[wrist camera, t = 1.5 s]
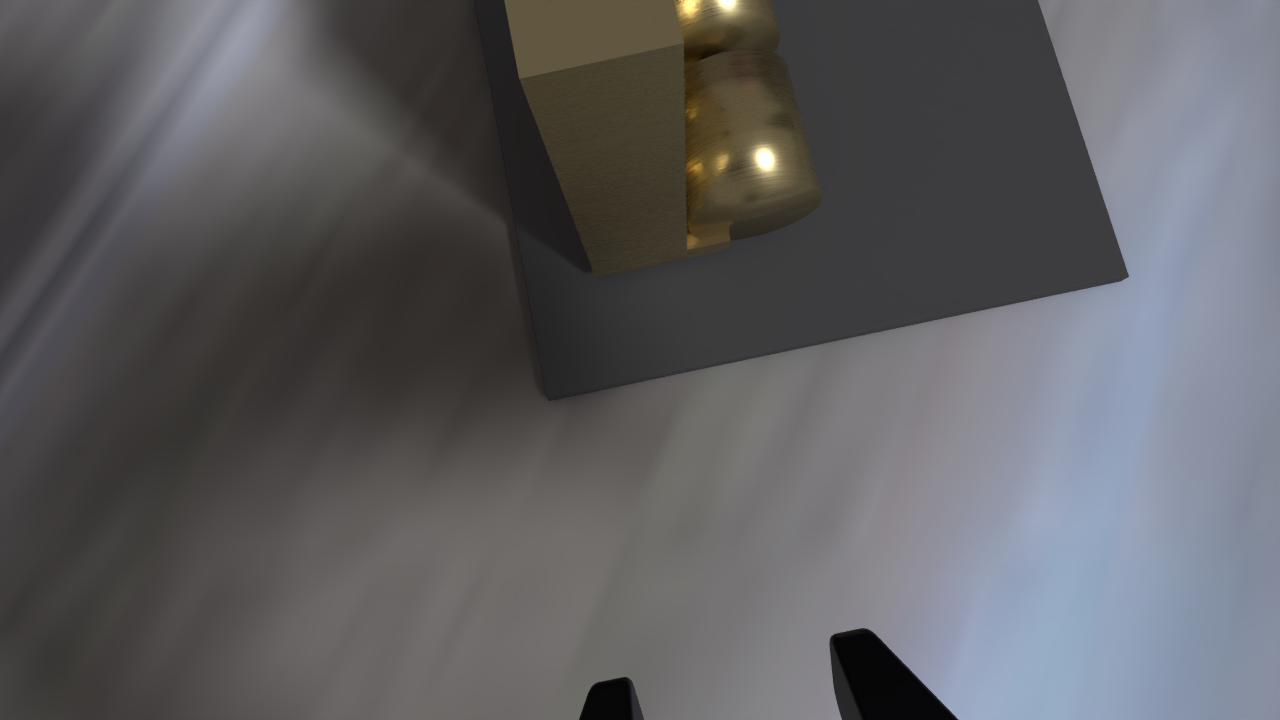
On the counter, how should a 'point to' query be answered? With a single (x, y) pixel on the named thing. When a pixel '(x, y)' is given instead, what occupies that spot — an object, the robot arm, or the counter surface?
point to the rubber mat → (838, 198)
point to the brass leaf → (665, 123)
